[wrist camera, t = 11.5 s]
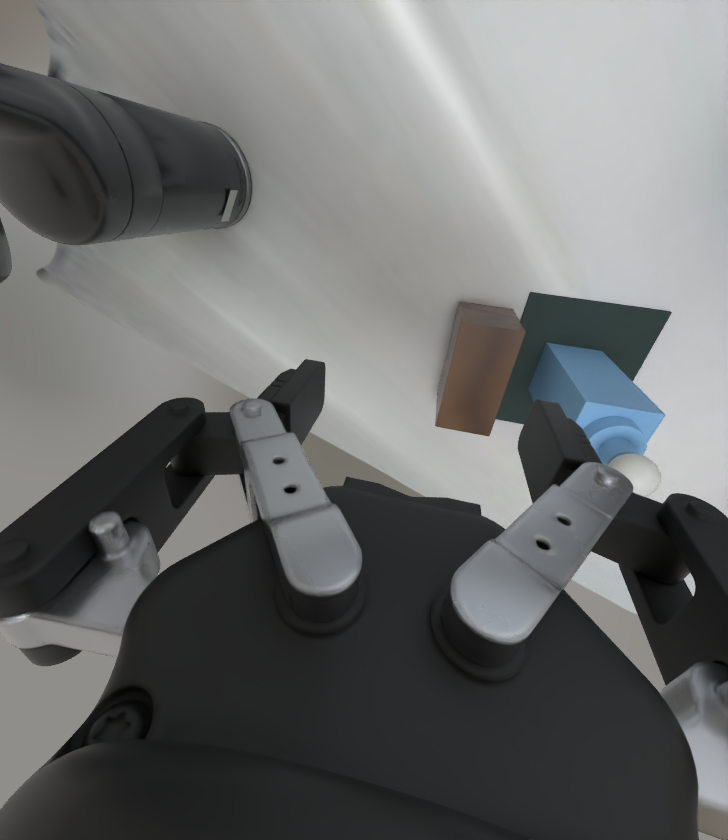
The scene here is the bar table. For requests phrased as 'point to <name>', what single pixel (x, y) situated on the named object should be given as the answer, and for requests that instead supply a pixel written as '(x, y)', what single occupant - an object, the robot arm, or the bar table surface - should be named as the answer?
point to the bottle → (602, 409)
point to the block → (477, 367)
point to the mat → (578, 340)
